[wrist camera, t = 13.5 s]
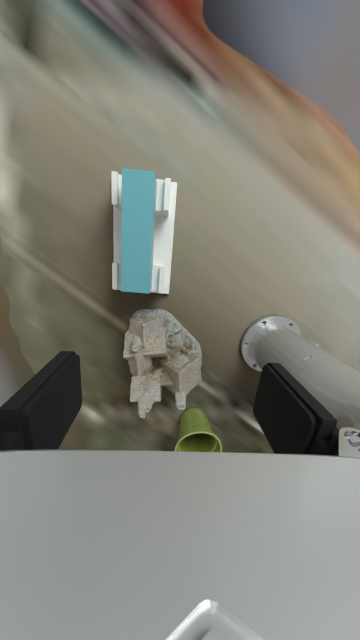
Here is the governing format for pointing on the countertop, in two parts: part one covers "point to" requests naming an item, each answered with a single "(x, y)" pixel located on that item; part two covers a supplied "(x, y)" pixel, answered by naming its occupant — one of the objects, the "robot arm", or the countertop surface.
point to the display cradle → (161, 234)
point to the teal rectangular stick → (137, 229)
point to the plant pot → (196, 433)
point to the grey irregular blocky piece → (160, 358)
